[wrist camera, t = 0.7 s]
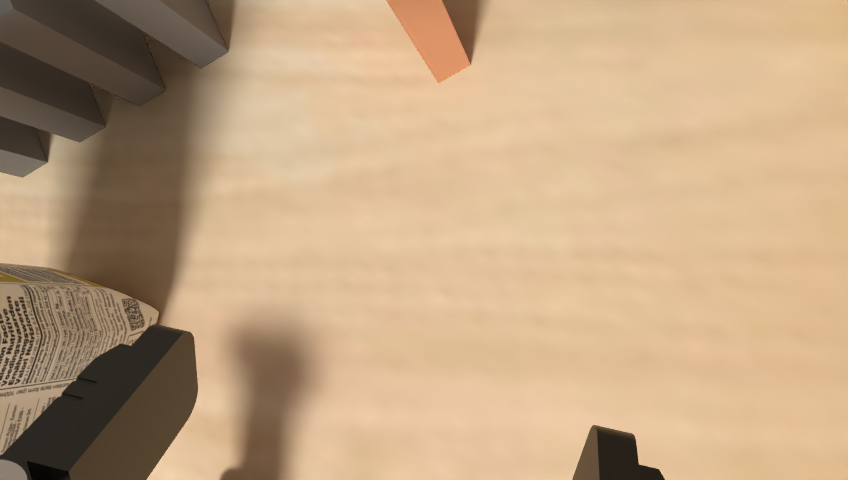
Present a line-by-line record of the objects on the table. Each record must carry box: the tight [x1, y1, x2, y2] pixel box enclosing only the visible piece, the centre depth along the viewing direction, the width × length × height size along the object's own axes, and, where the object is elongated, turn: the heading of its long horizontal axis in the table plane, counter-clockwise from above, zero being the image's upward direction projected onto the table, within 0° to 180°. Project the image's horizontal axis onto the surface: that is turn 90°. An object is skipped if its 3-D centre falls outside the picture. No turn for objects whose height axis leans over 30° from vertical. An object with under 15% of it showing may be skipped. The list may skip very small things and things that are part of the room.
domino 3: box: [0, 0, 166, 106], centre depth 35 cm, size 2×5×11 cm, turn 27°
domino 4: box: [0, 42, 106, 142], centre depth 36 cm, size 2×5×11 cm, turn 26°
